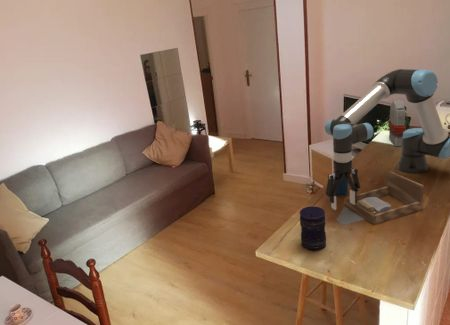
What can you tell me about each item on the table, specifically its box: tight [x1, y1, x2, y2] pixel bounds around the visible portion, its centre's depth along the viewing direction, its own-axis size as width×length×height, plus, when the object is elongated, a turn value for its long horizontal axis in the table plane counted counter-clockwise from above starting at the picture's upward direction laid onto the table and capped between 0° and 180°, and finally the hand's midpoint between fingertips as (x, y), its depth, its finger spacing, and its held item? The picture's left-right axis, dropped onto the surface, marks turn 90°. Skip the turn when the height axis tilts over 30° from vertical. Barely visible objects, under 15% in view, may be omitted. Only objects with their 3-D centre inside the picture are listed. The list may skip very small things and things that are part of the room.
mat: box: [336, 205, 366, 226], centre depth 158 cm, size 11×16×1 cm
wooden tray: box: [343, 170, 425, 226], centre depth 158 cm, size 26×20×12 cm
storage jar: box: [299, 206, 327, 252], centre depth 137 cm, size 10×10×15 cm
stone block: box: [363, 197, 392, 214], centre depth 159 cm, size 12×5×10 cm
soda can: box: [334, 177, 349, 197], centre depth 176 cm, size 7×7×12 cm
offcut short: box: [356, 200, 374, 212], centre depth 156 cm, size 3×8×2 cm, turn 14°
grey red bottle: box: [388, 99, 406, 147], centre depth 234 cm, size 19×6×30 cm, turn 168°
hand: (343, 205), depth 157 cm, fingers open, 9 cm apart
